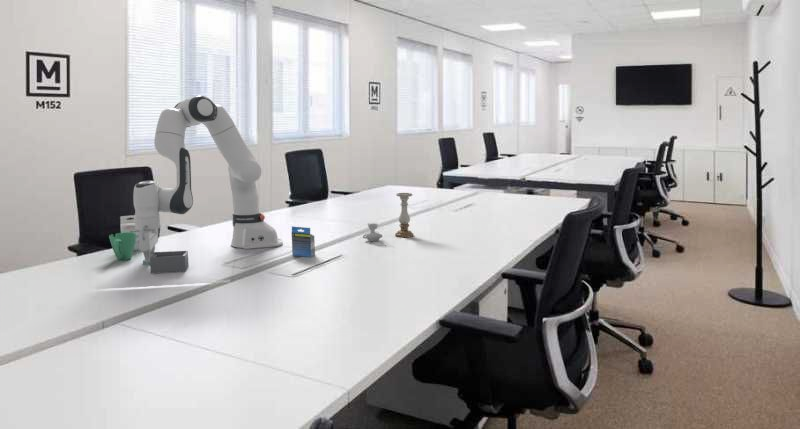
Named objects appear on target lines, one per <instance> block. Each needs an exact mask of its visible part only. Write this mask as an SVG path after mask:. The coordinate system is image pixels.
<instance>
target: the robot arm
mask: <svg viewBox="0 0 800 429" xmlns="http://www.w3.org/2000/svg"><path fill="white" fill-rule="evenodd" d="M200 124H203V126H205V128H206V129H207V130H208V132H209V134H210V137H211V138H212V140H213V141H214V143H215V145H216V147H217V149H218V151H219V153H220V154H221V155H222V157H223V158H224V160H225V161H226V163H227V164H228V167H227V170H228V176H229V182H230V189H231V190H230V191H231V194H232V195H231V196H232V212H233V213H232V216H231V222H232V223H231V224H232V227H233V231H232V239H231V243H230V246H231V247H234V248H238V249H240V248H241V249H244V250H249V249H261V248H271V247H274V248H275V247H280V246H282V245H283V244H284V243H283V240H282V239H281V238H278V233H277V230H276V229H275V227H273V226H271V225H270V224H269V223H267V222H266V221H264V220H265V218H266V217H265V215H264V214H263V213H261V212H260V207H259V204H260V203H259V201H260V200H259V194H258V191H257V186H256V182H257V181H258V180H259V179H260V177H261V176H262V168H261V165H260V164H259V162H258V160H257V159H256V157H255V156H254V154H253V153H252V151H251V150H250V148H249V146H248V145H247V144H246V142H245V141H244V139H243V137H242V135H241V134H240V131H239V130H238V128H237V126H236V124H235V122H234V121H233V118H232V117H231V116H230V114H229V113H228V112H227V110H226V108H225V107H223V105H220V104H215V103H214V102H213V101H212V100H211V98H209V97H208V96H206V95H196V96H193V97H192V96H191V97H189V98H185V99H184V100H183V101H179V102H178V103H176V104H175V106H174V107H173V108H170V107H169V108H165V109H163V110H162V111H161V113H160V115H159V118H158V120H157V124H156V128H155V134H154V140H153V141H154V149H155V150H156V152H157V153H158V154H159V155H161V156H162V157H164V159H168V160H170V161H171V162H173V164H174V165H175V168H176V186H175V187H173V188H172V187H171V188H169V187H162V186H159V185H157V184H156V182H155V181H154V180H143V181H139V182H137V183H136V184H134V188H133V193H132V194H133V195H132V196H133V200H132V201H133V208H134V211H135V212H134V215H135V229H137V230H139V250H138V251H139V252H140V253H143V257H144V259H145V262H150V257H151V255H152V254H153V253H154V252H156V251H155V250H156V244H158V242H159V229H160V228H161V219H160V218H161V217H160V213H166V214H167V213H170V214H172V213H173V214H176V215H177V214H178V215H185V214H186V213H188V212H189V211H190V210H191V208H192V207H193V204H194V197H193V191H192V167H191V155H190V152H189V151H188V149H186V146H185V139H186V138H185V137H186V136H185V135H186V130H187V128H190V127H194V126H198V125H200ZM159 212H160V213H159ZM282 243H283V244H282Z"/></svg>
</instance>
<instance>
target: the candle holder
mask: <svg viewBox="0 0 800 429" xmlns="http://www.w3.org/2000/svg"><path fill="white" fill-rule="evenodd" d="M395 196H396V197H399V199H400V201H401V203H400V206H401V212H400V215H399V216H398V222H399V223H400V224H399V228H400V230H397V231H396V233H395V234H394V235H395V237H398V238H412V237H414V232H412V230H409V227H410V224H409V223H410V221H411V217H410V214H409V212H408V205H409V203H408V200H409V199H410V197H412V196H413V193H411V192H399V193H396V194H395Z"/></svg>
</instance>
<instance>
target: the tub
mask: <svg viewBox="0 0 800 429" xmlns="http://www.w3.org/2000/svg"><path fill="white" fill-rule="evenodd" d="M149 265H150V266H149V267H150V274H167V273H170V274H171V273H185V272H187V270H188V268H189V252H188V250H172V251H154V253H153V254H152V255H151V257H150V264H149Z"/></svg>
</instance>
